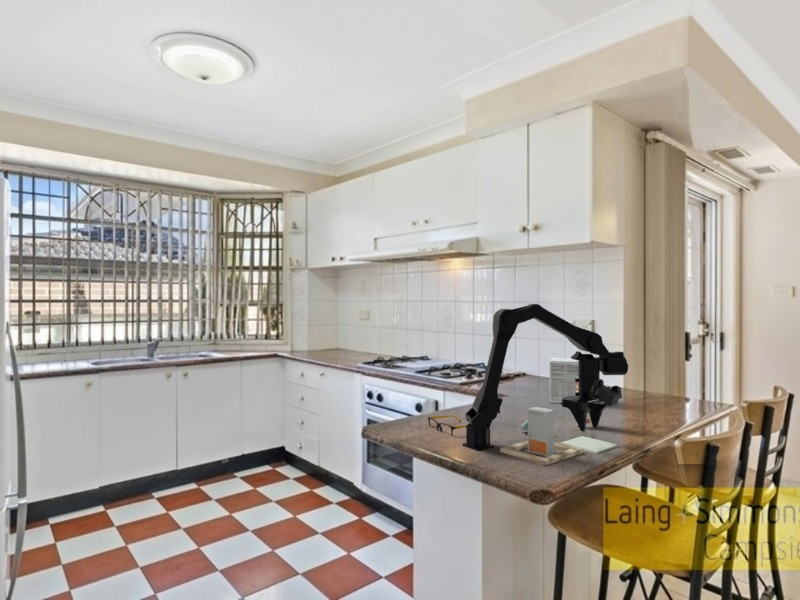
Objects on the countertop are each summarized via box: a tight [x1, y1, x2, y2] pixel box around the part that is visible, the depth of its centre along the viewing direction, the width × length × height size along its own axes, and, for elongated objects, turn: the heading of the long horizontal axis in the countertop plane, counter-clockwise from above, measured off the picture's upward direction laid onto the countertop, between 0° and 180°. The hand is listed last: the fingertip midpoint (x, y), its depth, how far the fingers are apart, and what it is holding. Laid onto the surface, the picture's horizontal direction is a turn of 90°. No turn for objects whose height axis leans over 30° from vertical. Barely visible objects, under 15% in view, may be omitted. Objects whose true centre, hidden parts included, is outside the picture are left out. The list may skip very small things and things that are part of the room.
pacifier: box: [519, 419, 528, 431], centre depth 148 cm, size 7×6×6 cm
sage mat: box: [560, 435, 618, 454], centre depth 137 cm, size 11×11×1 cm
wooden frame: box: [499, 440, 583, 466], centre depth 130 cm, size 17×14×1 cm
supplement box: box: [549, 357, 578, 404], centre depth 199 cm, size 13×13×18 cm
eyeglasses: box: [427, 414, 467, 437], centre depth 154 cm, size 14×14×4 cm
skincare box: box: [527, 406, 555, 457], centre depth 130 cm, size 6×4×12 cm
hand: (588, 429), depth 137 cm, fingers open, 6 cm apart
